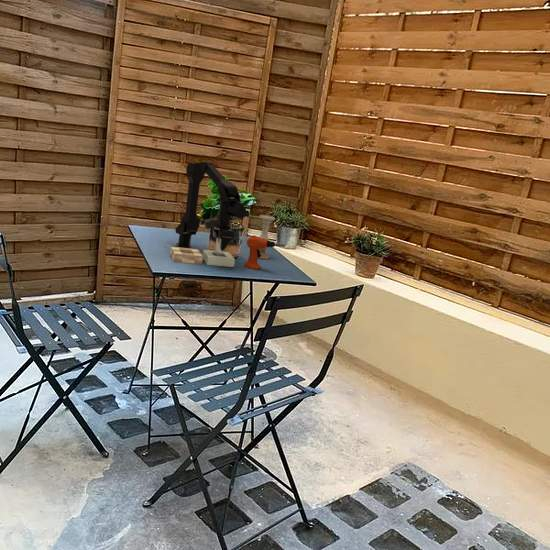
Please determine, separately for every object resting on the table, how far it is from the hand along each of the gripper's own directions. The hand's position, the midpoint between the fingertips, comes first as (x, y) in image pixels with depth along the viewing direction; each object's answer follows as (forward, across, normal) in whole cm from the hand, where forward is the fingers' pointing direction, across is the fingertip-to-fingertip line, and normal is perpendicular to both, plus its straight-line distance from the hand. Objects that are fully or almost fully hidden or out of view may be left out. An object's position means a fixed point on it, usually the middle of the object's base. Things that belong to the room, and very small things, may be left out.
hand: (219, 248), depth 242 cm
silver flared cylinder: (+6, 0, 0) cm, 6 cm away
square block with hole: (+6, 0, 0) cm, 6 cm away
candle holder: (+7, -17, +26) cm, 31 cm away
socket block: (+6, 0, -14) cm, 16 cm away
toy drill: (+7, +7, +18) cm, 21 cm away
